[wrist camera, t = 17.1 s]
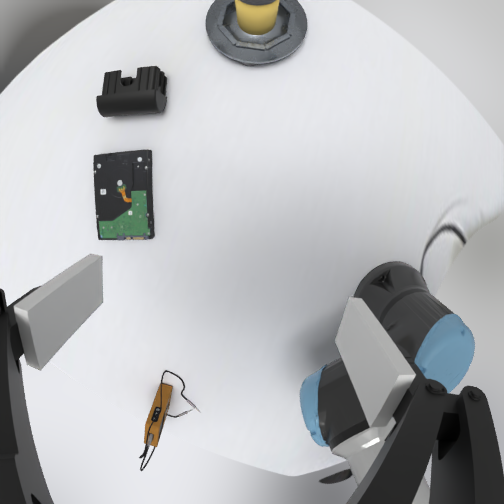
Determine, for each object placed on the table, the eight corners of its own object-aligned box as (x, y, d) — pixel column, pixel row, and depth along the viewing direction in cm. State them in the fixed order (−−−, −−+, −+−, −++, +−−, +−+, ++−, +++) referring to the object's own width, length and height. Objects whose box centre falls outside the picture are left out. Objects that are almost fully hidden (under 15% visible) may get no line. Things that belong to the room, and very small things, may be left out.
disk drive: (99, 155, 46) (104, 237, 50) (92, 155, 44) (97, 241, 48) (153, 149, 46) (156, 236, 50) (147, 148, 44) (151, 240, 48)
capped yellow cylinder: (279, 8, 36) (287, -31, 24) (273, 39, 38) (280, 3, 26) (240, 3, 36) (236, -37, 24) (232, 33, 37) (226, -3, 26)
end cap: (112, 119, 44) (94, 114, 38) (116, 81, 42) (98, 72, 36) (166, 115, 44) (154, 109, 38) (170, 76, 42) (158, 64, 36)
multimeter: (197, 423, 62) (185, 490, 43) (156, 412, 62) (135, 477, 42) (209, 381, 58) (195, 456, 39) (162, 368, 58) (135, 439, 38)
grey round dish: (309, 1, 38) (313, -9, 34) (297, 75, 42) (300, 68, 39) (218, -11, 37) (216, -22, 33) (199, 61, 41) (195, 54, 38)
